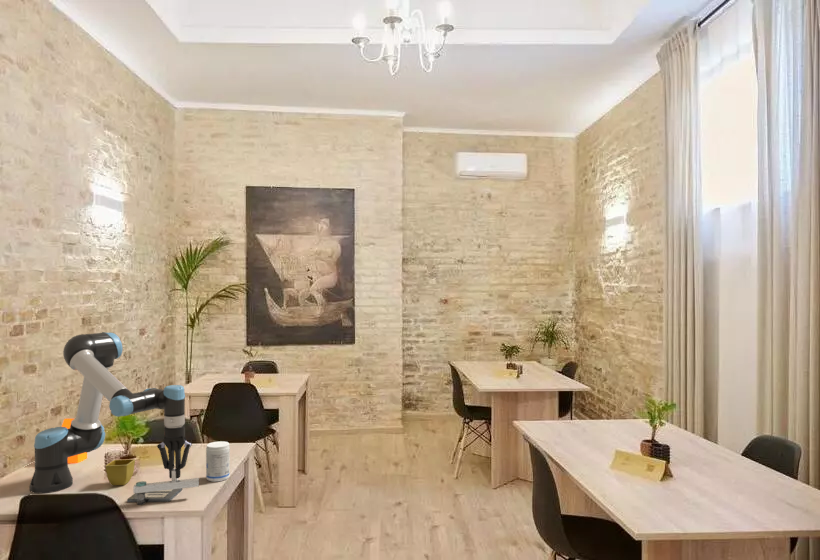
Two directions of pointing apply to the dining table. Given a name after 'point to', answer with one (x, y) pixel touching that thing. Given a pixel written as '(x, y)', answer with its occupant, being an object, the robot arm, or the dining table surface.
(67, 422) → the orange juice
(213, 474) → the supplement tub
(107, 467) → the flower pot
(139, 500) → the pivot post
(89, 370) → the robot arm
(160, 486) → the swing bar
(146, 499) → the label plate
